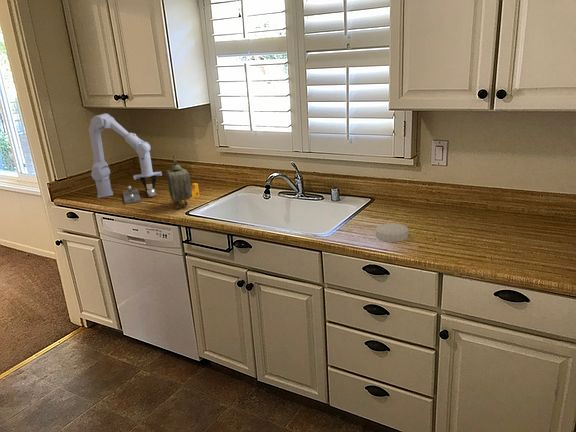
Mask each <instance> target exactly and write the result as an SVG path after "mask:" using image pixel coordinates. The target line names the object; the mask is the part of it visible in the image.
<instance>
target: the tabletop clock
mask: <svg viewBox="0 0 576 432" xmlns="http://www.w3.org/2000/svg"><path fill="white" fill-rule="evenodd" d="M176 157H177V156H176V155H175V154H173V156H172V159H173V165H172V166H171V167H170V169H167V170H166V171H165V172H166V179H167V180H166V181H167V186H168V193H169V198H170V199H171V201H172V203H173V204H176V203H177V206H176V210H180V208H181V207H180V204H181V203H182V202H181V201H182V200H184V205H185V206H186V205H188V204H189V202H188V201H189V200H191V199H190V198H191V197H192V190H191V188H192V183H191V177H190V173H189V171H188V170H187V169H185V168H183V167H182V166H181V165H180V164H177V163H178V162H177V158H176ZM188 199H189V200H188ZM186 200H187V201H186Z"/></svg>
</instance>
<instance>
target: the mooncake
mask: <svg viewBox="0 0 576 432" xmlns="http://www.w3.org/2000/svg"><path fill="white" fill-rule="evenodd" d="M375 237H376V238H377V239H378V240H380V241H383V242H388V243H390V242H393V243H395V242H401V241H405V240H407V238H409V228H408V227H407V226H406V225H404V224H401V223H396V222H388V223H382V224H380V225H378V226H376V227H375Z"/></svg>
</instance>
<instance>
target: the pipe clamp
mask: <svg viewBox="0 0 576 432" xmlns="http://www.w3.org/2000/svg"><path fill="white" fill-rule="evenodd" d="M191 190H192V197H191V198H190V199H188V200H186V202H188V201H189V200H192V199H195V198H198V197H200V189H199V183H194V182H193V183H191ZM183 202H184V203H185V201H184V200H182V201H181V202H180V203H183Z"/></svg>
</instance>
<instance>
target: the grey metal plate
mask: <svg viewBox="0 0 576 432" xmlns="http://www.w3.org/2000/svg"><path fill="white" fill-rule="evenodd" d="M139 193H140V192H139V189H132V186H131V185H127V190H124V191H123V190H122V196H123V201H124V205H129V204H136V203H142V199H141V196H140V194H139Z"/></svg>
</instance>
